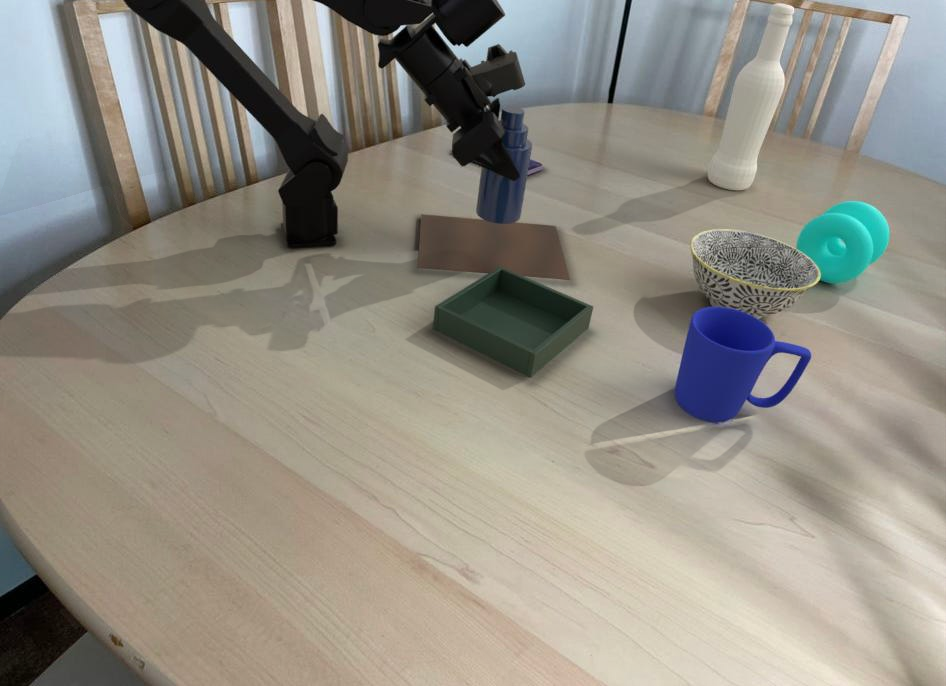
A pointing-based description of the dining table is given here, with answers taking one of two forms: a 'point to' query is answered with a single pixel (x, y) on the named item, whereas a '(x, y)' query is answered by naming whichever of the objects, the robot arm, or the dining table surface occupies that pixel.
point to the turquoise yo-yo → (844, 240)
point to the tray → (513, 320)
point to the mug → (729, 364)
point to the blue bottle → (497, 192)
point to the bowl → (750, 271)
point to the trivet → (490, 247)
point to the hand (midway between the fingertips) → (515, 169)
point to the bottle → (752, 107)
